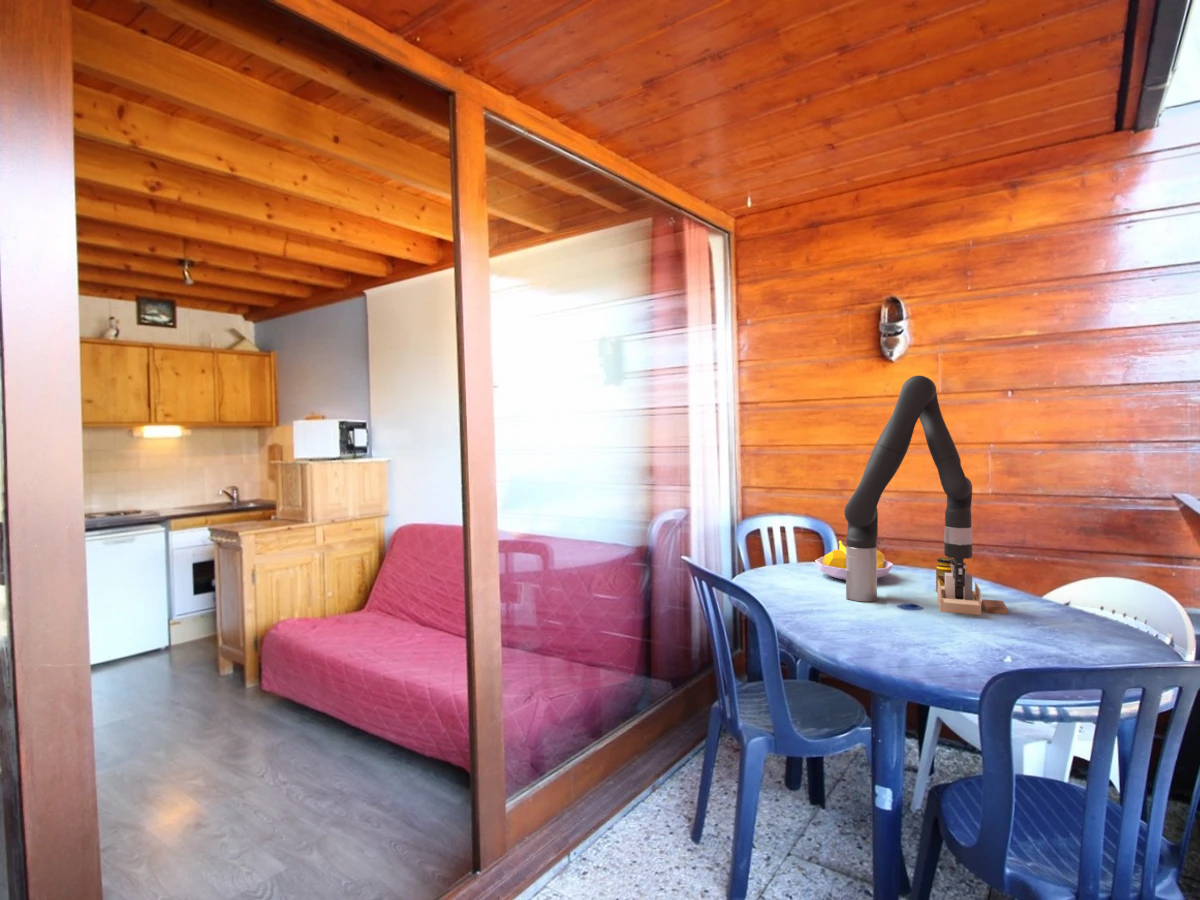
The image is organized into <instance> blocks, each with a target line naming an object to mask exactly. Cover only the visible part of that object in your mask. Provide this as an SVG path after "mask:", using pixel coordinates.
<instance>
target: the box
mask: <svg viewBox="0 0 1200 900" xmlns="http://www.w3.org/2000/svg"><path fill="white" fill-rule="evenodd" d="M957 582H962V580H959V579H958V580H957ZM954 584H955V580H954V579H953V576H952V573H945V598H948V599H956V598H955V585H954ZM972 590H973V576H972V575H971V574H969V573H966V578H965V587H963V599H962V600H972Z"/></svg>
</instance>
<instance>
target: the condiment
mask: <svg viewBox="0 0 1200 900" xmlns="http://www.w3.org/2000/svg"><path fill="white" fill-rule="evenodd" d="M952 560H953V558H950V557H938V558H937V559H936V561H937V563H936V564H937V565H936V567H935V581H936V582H935V584H936V585H935V590H934V591H935V592H936V593H937V589H938V580H939V582H940V585H941V586H945V573H951V565H950V562H951V561H952Z"/></svg>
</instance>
